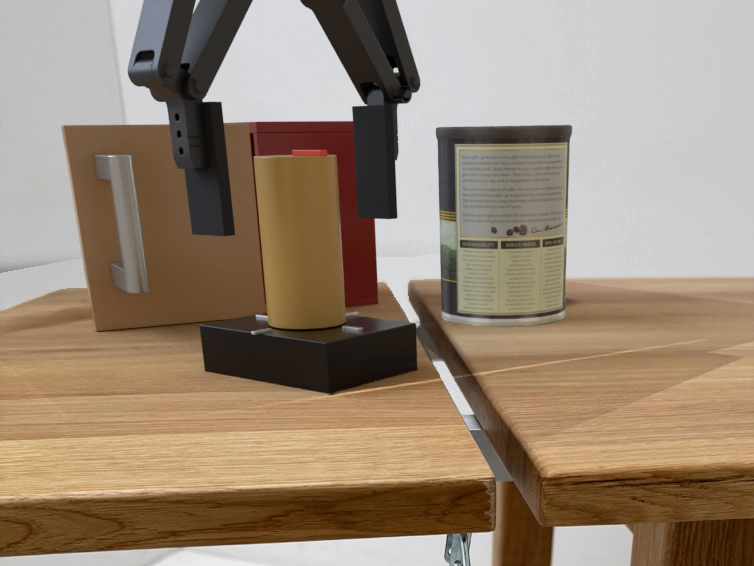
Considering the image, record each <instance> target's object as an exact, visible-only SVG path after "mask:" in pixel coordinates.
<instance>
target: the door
mask: <svg viewBox="0 0 754 566" xmlns="http://www.w3.org/2000/svg"><path fill="white" fill-rule="evenodd" d="M60 127H61V134H62V140H63V146H64V152H65V153H64V154H65V159H66V160H65V161H66V166H67V172H68V177H69V184H70V191H71V197H72V203H73V209H74V216H75V223H76V228H77V233H78V241H79V245H80V247H79V248H80V252H81V253H80V254H81V258H82V259H81V260H82V263H83V264H82V265H83V271H84V278H85V284H86V289H87V296H88V301H89V302H88V303H89V307H90V315H91V320H92V321H91V322H92V326H93V327H92V328H93V330H94V331H96V332H104V331H117V330H128V329H137V328H148V327H160V326H161V327H162V326H171V325H183V324H195V323H203V322H204V323H206V322H217V321H223V320H229V319H234V318H240V317H245V316H251V315H256V314H262V313H266V310H265V299H264V287H263V276H262V265H261V254H260V243H259V232H258V221H257V209H256V198H255V187H254V176H253V165H252V154H251V143H250V131H249V124H224V131H225V141H226V150H227V160H228V170H229V179H230V189H231V199H232V208H233V218H234V228H235V235H232V236H212V235H194V234H192V229H191V220H190V212H189V204H188V196H187V187H186V179H185V171H184V169H178V168H177V165H176V163H175V161H174V158H173V150H172V147H173V146H172V141H171V139H172V137H171V133H170V125H169V123H167V124H166V123H165V124H164V123H162V124H63V125H61V126H60Z"/></svg>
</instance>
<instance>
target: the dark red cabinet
mask: <svg viewBox="0 0 754 566" xmlns="http://www.w3.org/2000/svg"><path fill="white" fill-rule="evenodd" d="M224 124H249V131H250V143H251V154H252V165H253V176H254V187H255V198H256V209H257V221H258V232H259V243H260V254H261V265H262V276H263V287H264V299H265V310H266V313H267V303H266V292H265V281H264V270H263V259H262V247H261V236H260V225H259V214H258V202H257V191H256V180H255V169H254V156H271V155H292V150H327V155H336V156H337V172H338V189H339V206H340V224H341V241H342V259H343V276H344V294H345V309H346V308H354V307H363V306H364V307H365V306H374V305H379V285H378V283H379V281H378V262H377V260H378V259H377V240H376V219H372V218H358V203H357V185H356V167H355V149H354V130H353V120H322V121H321V120H319V121H318V120H317V121H316V120H313V121H312V120H309V121H308V120H307V121H305V120H304V121H301V120H298V121H297V120H296V121H291V120H290V121H288V120H287V121H236V122H224Z"/></svg>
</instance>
